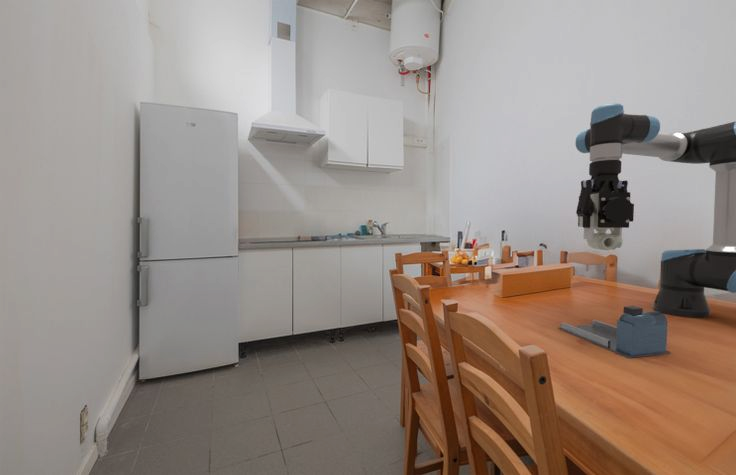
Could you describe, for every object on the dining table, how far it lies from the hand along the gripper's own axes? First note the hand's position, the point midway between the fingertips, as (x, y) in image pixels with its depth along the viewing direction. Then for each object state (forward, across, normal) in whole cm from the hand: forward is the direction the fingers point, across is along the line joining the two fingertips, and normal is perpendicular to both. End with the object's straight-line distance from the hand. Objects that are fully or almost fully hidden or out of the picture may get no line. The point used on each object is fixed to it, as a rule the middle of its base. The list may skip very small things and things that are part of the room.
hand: (602, 239), depth 96 cm
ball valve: (+3, 0, 0) cm, 3 cm away
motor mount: (+29, 0, +3) cm, 29 cm away
